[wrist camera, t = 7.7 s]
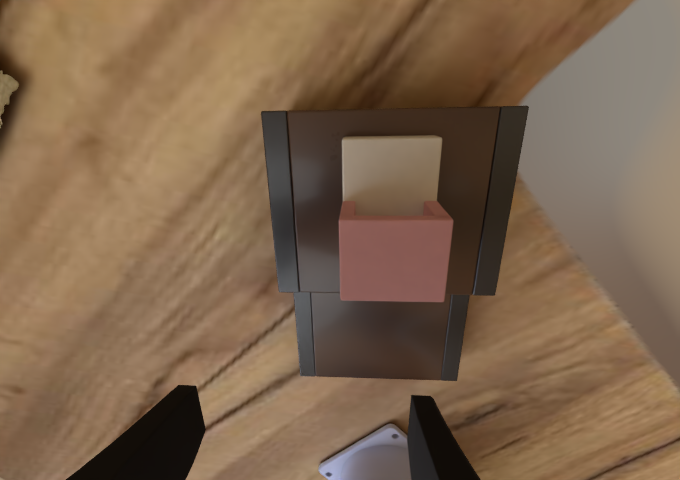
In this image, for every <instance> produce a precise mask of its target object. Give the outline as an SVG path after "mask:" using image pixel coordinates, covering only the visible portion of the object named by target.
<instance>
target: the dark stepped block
mask: <svg viewBox="0 0 680 480" xmlns="http://www.w3.org/2000/svg"><path fill="white" fill-rule="evenodd" d="M528 108H529V107H528V106H499V107H498V106H495V107H446V108H396V109H346V110H296V111H262V112H261V117H262V127H263V137H264V147H265V157H266V167H267V177H268V187H269V197H270V208H271V218H272V228H273V238H274V248H275V258H276V268H277V278H278V288H279V292H294V303H295V315H296V328H297V340H298V353H299V365H300V376H322V377H353V378H385V379H416V380H444V381H457V377H458V370H459V363H460V356H461V350H462V343H463V336H464V329H465V322H466V316H467V309H468V302H469V295H472V294H473V295H490V296H494V295H495V292H496V287H497V281H498V276H499V270H500V264H501V259H502V253H503V248H504V242H505V237H506V231H507V225H508V220H509V214H510V209H511V203H512V198H513V192H514V186H515V181H516V175H517V170H518V164H519V158H520V153H521V147H522V142H523V136H524V130H525V125H526V120H527V114H528ZM427 135H435V136H439V137H441V138H442V149H441V160H440V170H439V181H438V192H437V202H438V203H439V204H440V205H441V206H442V208H443V209H444V210H445V211H446V212H447V213H448V214H449V216H450V217H451V218H452V219H453V230H452V239H451V247H450V256H449V265H448V273H447V282H446V291H445V300H444V302H401V301H342V300H341V299H340V259H339V217H340V212H341V208H342V203H343V187H342V139H343V138H344V137H359V136H427Z"/></svg>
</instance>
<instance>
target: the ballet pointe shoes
mask: <svg viewBox="0 0 680 480" xmlns="http://www.w3.org/2000/svg"><path fill="white" fill-rule="evenodd" d="M18 86H19V84H18V82H17V81H15V80H14V79H13V78H12V77H11V76H9V75H3V73H2V71H0V116H1V115H2V114H3V112H4V105H5V103H6V104H7V105H9V96H10V95H11V94H12V91H15V90H16V89H17V88H18ZM0 124H1V125H2V121H1V117H0ZM1 125H0V129H1Z"/></svg>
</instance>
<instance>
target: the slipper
mask: <svg viewBox="0 0 680 480" xmlns="http://www.w3.org/2000/svg"><path fill="white" fill-rule="evenodd" d="M441 149H442V138H441V137H439V136H435V135H427V136H359V137H344V138H343V139H342V187H343V203H342V208H341V212H340V217H339V259H340V299H341V300H342V301H401V302H444V300H445V291H446V282H447V273H448V265H449V256H450V247H451V239H452V230H453V219H452V218H451V217H450V216H449V214H448V213H447V212H446V211H445V210H444V209H443V208H442V206H441V205H440V204H439V203H438V202H437V192H438V181H439V170H440V160H441Z"/></svg>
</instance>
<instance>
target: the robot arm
mask: <svg viewBox="0 0 680 480" xmlns="http://www.w3.org/2000/svg"><path fill="white" fill-rule="evenodd" d="M205 430H206V429H205V425H204V420H203V415H202V411H201V406H200V402H199V397H198V392H197V388H196V386H189V385H178V386H177V387H176V388H175V389H174V390H172V391H171V392H170V393H169V394H168V395H167V396H165V397H164V398H163V399H162V400H161V401H160V402H159V403H158V404H156V405H155V406H154V407H153V408H152V409H151V410H150V411H148V412H147V413H146V414H145V415H144V416H143V417H142V418H140V419H139V420H138V421H137V422H136V423H135V424H134V425H132V426H131V427H130V428H129V429H128V430H127V431H125V432H124V433H123V434H122V435H121V436H120V437H118V438H117V439H116V440H115V441H114V442H113V443H111V444H110V445H109V446H108V447H106V448H105V449H104V450H103V451H101V452H100V453H99V454H98V455H96V456H95V457H94V458H93V459H91V460H90V461H89V462H88V463H86V464H85V465H84V466H83V467H82V468H80V469H79V470H78V471H77V472H75V473H74V474H73V475H71V476H70V477H69V478H67V479H66V480H185V479H186V477H187V475H188V473H189V471H190V469H191V467H192V465H193V463H194V460H195V458H196V455H197V452H198V450H199V447H200V444H201V441H202V439H203V436H204V433H205ZM319 472H320V473H321V474H322V475H323V476H325V477H326V478H327V479H328V480H480V478H479V477H478V475H477V474H476V472H475V471H474V469H473V467H472V466H471V464H470V463H469V461H468V459H467V458H466V456H465V455H464V453H463V451H462V450H461V448H460V447H459V445H458V443H457V442H456V440H455V438H454V437H453V435H452V433H451V431H450V429H449V428H448V426H447V424H446V422H445V421H444V419H443V417H442V415H441V413H440V411H439V409H438V407H437V405H436V403H435V401H434V399H433V398H432V397H431V396H419V395H411V405H410V415H409V426H408V436H407V435H406V434H405V433H404V432H403V431H401V430H400V429H399V428H398V427H397V426H396V425H394V424H387V425H385V426H383V427H382V428H380V429H378V430H377V431H375V432H373V433H372V434H370V435H368V436H367V437H365V438H363V439H362V440H360V441H358V442H357V443H355V444H353V445H352V446H350V447H348V448H346V449H345V450H343V451H341V452H340V453H338V454H336V455H335V456H333V457H331V458H330V459H328V460H326V461H325V462H323V463H321V464H320V465H319Z"/></svg>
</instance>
